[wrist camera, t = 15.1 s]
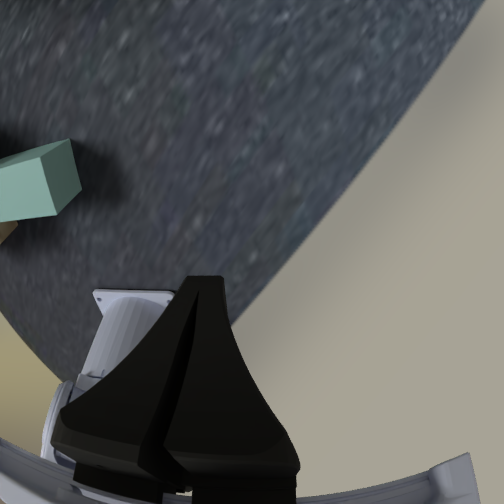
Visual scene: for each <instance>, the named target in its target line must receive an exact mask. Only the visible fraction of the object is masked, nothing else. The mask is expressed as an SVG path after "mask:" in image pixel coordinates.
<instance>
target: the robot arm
mask: <svg viewBox="0 0 504 504" xmlns="http://www.w3.org/2000/svg"><path fill="white" fill-rule="evenodd" d="M93 295H94V298H95V300H96V302H97V304H98V306H99V308H100V310H101V312H102V314H103V316H104V317H103V319H102V321H101V324H100V326H99V329H98V331H97V333H96V336H95V338H94V341H93V343H92V346H91V349H90V351H89V354H88V356H87V359H86V362H85V364H84V367H83V370H82V373H81V374H79V376H78V379H77V382H76V384H75V387H73V386H74V383H73V382H71V381H69V380H67V381H66V382H64V383H61V384H59V386H58V388H57V390H56V392H55V394H54V397H53V399H52V402H51V405H50V408H49V411H48V414H47V418H46V422H45V426H44V431H43V436H42V443H43V445H42V451H41V455H40V457H39V456H37V455H35V454H32V453H30V452H28V451H26V450H23V449H22V448H20V447H17V446H15V445H13V444H12V443H10V442H8V441H6V440H4V439H2V438H0V499H2V500H3V501H4V502H5V503H7V504H480V499H479V493H478V488H477V483H476V478H475V474H474V469H473V465H472V461H471V457H470V453H468V452H467V453H465V454H462V455H460V456H458V457H455V458H453V459H450V460H448V461H445V462H443V463H440V464H438V465H436V466H434V467H432V468H430V469H429V470H428V471H425V472H422V473H419V474H416V475H413V476H409V477H406V478H403V479H400V480H396V481H392V482H388V483H384V484H380V485H376V486H371V487H367V488H362V489H357V490H352V491H346V492H341V493H334V494H327V495H320V496H311V497H301V498H296V487H297V483H296V475H297V473H298V472H299V470H300V461H299V458H298V455H297V453H296V450H295V448H294V446H293V444H292V442H291V440H290V438H289V436H288V434H287V432H286V430H285V428H284V427H283V426H282V425H281V423H280V422H279V420H278V419H277V417H276V416H275V414H274V413H273V412H272V410H271V409H270V407H269V405H268V404H267V402H266V401H265V399H264V398H263V396H262V394H261V393H260V391H259V389H258V387H257V385H256V384H255V382H254V380H253V378H252V376H251V375H250V373H249V370H248V368H247V366H246V364H245V362H244V360H243V358H242V356H241V353H240V351H239V348H238V346H237V343H236V341H235V338H234V335H233V332H232V329H231V326H230V323H229V319H228V315H227V304H226V295H225V286H224V278H223V277H222V276H187V277H186V278H185V279H184V281H183V283H182V284H181V286H180V287H179V289H178V291H177V292H176V294H175V295H174V293H173V292H171V291H143V290H108V289H95V290H94V292H93ZM169 300H171V301H169ZM190 491H192V496H183V495H176V492H178V493H185V492H190Z"/></svg>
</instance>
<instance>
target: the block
mask: <svg viewBox="0 0 504 504" xmlns="http://www.w3.org/2000/svg"><path fill="white" fill-rule="evenodd" d="M17 226H18V223H17V220H13V221H6V222H0V244H1V243H2V242H3V241H4V240H5V239H6V238H7V237H8V236H9V234H10V233H11V232H12V231H13V230H14V229H15V228H16V227H17Z"/></svg>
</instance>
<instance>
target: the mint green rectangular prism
mask: <svg viewBox="0 0 504 504" xmlns="http://www.w3.org/2000/svg"><path fill="white" fill-rule="evenodd" d="M81 190H82V187H81V184H80V180H79V176H78V172H77V168H76V164H75V160H74V156H73V151H72V147H71V142H70V139H66V140H62V141H58V142H55V143H51V144H47V145H44V146H40V147H37V148H33V149H30V150H27V151H23V152H20V153H17V154H14V155H11V156H8V157H5V158H2V159H0V222H6V221H13V220H21V219H28V218H36V217H44V216H52V215H58V213H59V212H60V211H61V210H62V209H63V208H64V207H65V206H66V205H67V204H68V203H69V202H70V201H71V200H72V199H73V198H74V197H75V196H76V195H77V194H78V193H79V192H80V191H81Z"/></svg>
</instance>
